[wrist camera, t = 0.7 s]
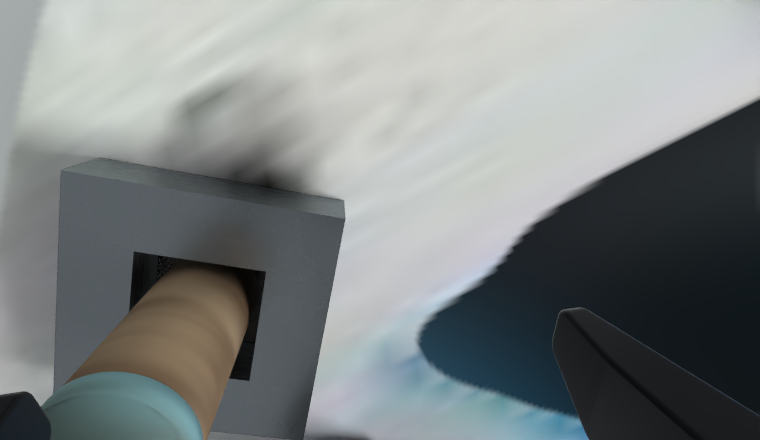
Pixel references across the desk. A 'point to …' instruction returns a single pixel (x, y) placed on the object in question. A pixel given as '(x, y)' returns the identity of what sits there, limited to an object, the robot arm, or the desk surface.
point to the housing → (205, 244)
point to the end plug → (161, 360)
